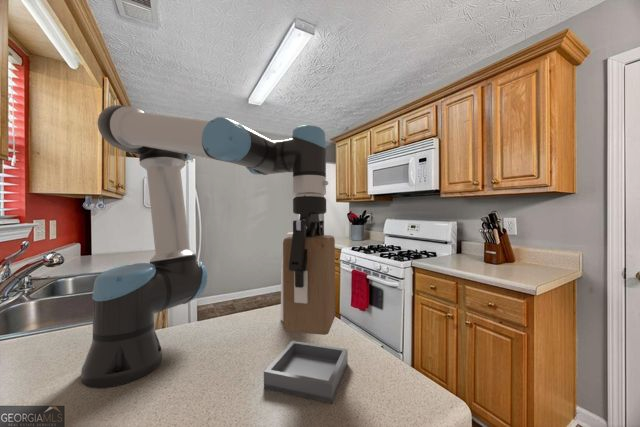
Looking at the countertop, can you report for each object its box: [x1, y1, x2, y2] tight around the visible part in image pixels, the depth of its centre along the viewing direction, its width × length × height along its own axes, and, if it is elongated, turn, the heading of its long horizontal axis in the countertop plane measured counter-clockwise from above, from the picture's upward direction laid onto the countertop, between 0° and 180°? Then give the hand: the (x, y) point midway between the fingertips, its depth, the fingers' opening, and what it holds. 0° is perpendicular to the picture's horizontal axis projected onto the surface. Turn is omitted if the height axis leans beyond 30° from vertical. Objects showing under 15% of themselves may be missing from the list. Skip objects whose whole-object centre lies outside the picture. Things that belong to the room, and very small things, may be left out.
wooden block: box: [282, 234, 336, 336], centre depth 60 cm, size 10×10×20 cm
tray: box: [263, 340, 349, 404], centre depth 59 cm, size 14×14×4 cm
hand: (310, 295), depth 60 cm, fingers closed on wooden block, 10 cm apart
